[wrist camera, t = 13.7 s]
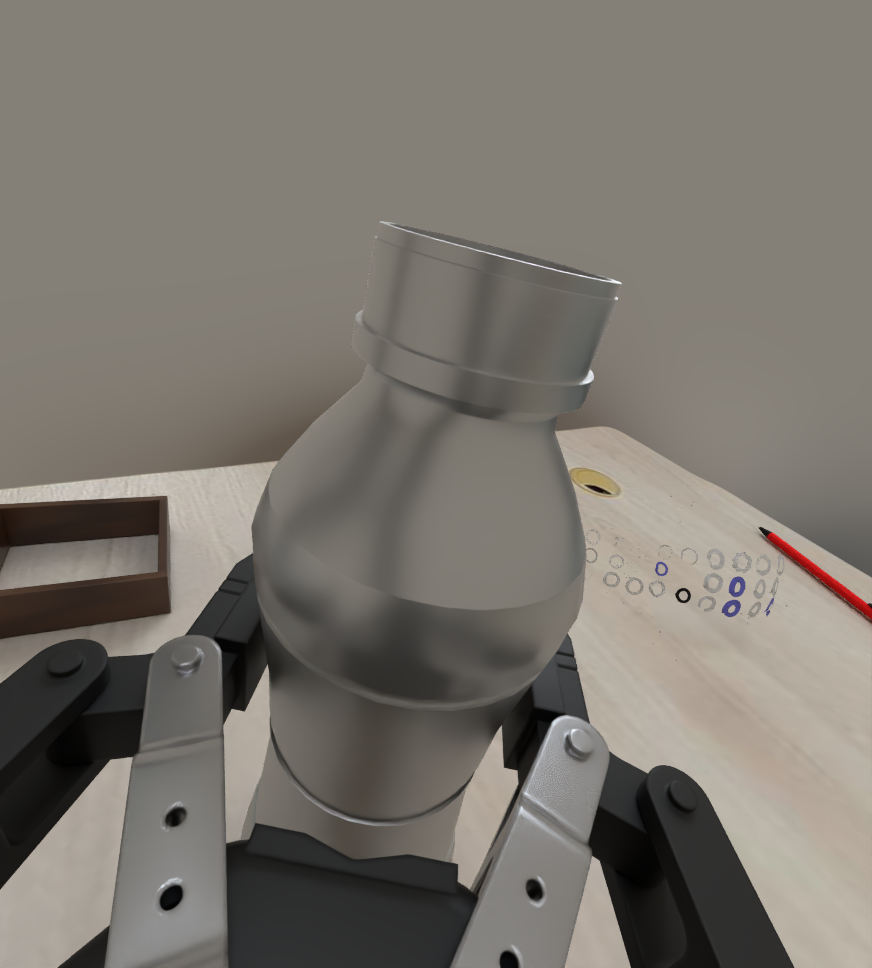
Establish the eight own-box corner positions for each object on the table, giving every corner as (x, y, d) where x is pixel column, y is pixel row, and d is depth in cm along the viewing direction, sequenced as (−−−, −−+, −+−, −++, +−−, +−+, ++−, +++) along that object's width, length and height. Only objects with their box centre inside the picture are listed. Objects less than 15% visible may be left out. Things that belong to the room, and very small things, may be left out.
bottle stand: (-40, 644, 25) (-57, 602, 23) (1, 542, 31) (-10, 504, 30) (170, 612, 29) (167, 576, 28) (169, 528, 36) (167, 495, 34)
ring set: (418, 601, 38) (441, 456, 36) (468, 564, 49) (488, 451, 47) (792, 725, 28) (850, 537, 27) (753, 646, 39) (792, 508, 37)
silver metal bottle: (387, 1065, 13) (826, 353, 4) (187, 935, 15) (131, 164, 5) (456, 828, 19) (704, 299, 9) (307, 750, 20) (388, 217, 11)
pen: (924, 662, 42) (934, 654, 41) (753, 529, 57) (758, 521, 57) (930, 662, 42) (940, 653, 41) (759, 529, 57) (764, 522, 57)
